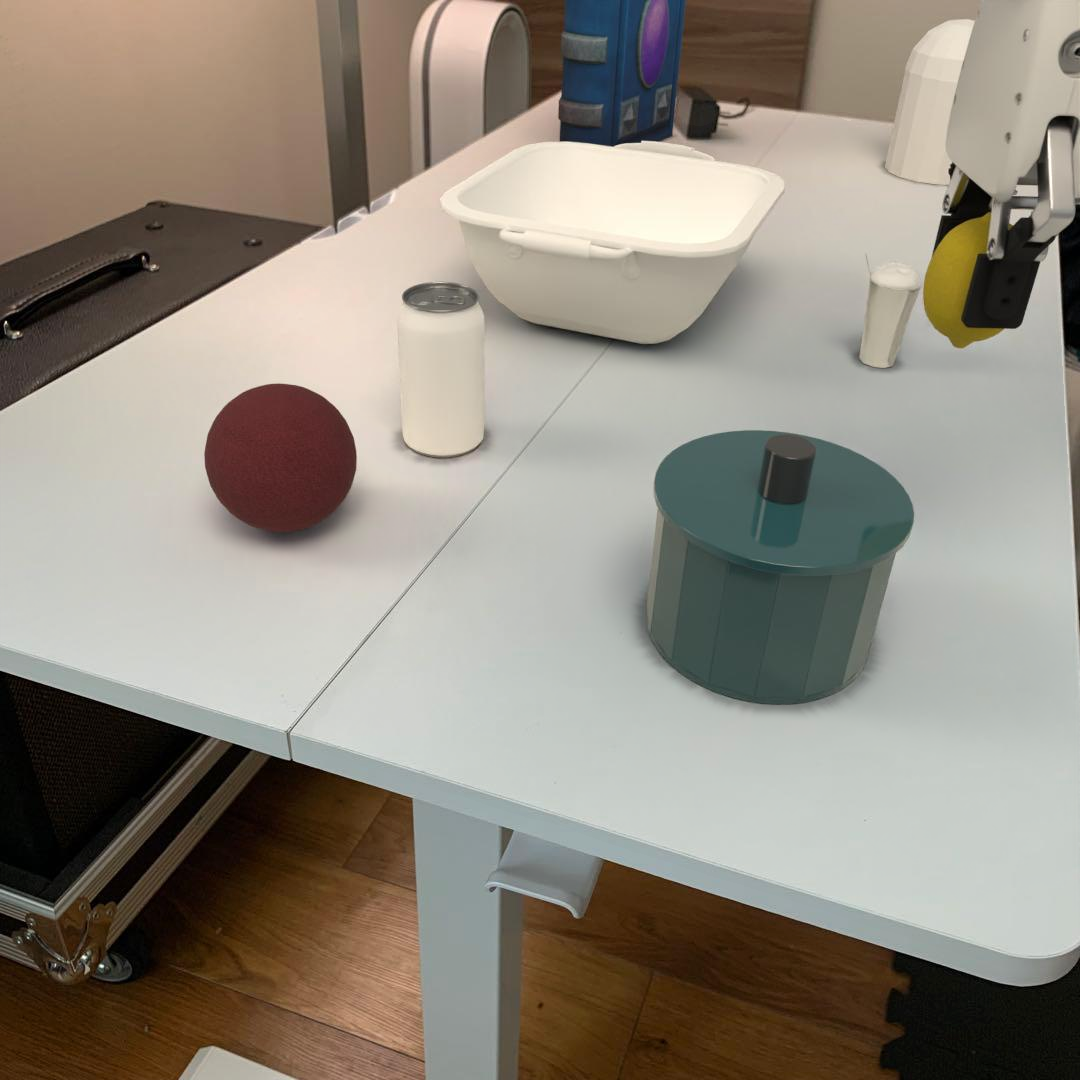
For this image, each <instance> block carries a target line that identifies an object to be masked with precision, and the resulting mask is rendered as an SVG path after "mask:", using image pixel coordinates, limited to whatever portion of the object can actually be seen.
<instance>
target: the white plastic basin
mask: <svg viewBox="0 0 1080 1080" xmlns="http://www.w3.org/2000/svg"><path fill="white" fill-rule="evenodd" d="M785 192H786V181H785V180H784V179H783V178H782V177H780V176H779V175H778V174H776V173H773V172H771V171H768V170H766V169H762V168H760V167H755V166H751V165H746V164H740V163H734V162H726V161H719V160H716V158H714V157H713V156H712V155H710V154H707V153H705V152H701V151H698V150H696V148H695V147H692V146H688V145H683V144H678V143H672V142H664V141H659V142H656V141H641V143H626V144H620V145H616V146H614V147H611V146H603V145H596V144H589V143H578V142H559V141H543V142H536V143H530V144H529V143H528V144H525V145H521V146H519V147H517V148H515V149H513V150H511V151H510V152H508V153H506V154H505V155H503V156H502V157H499V158H498V159H497V160H495V161H494V162H491V163H490V164H489V165H487V166H485V167H483V168H482V169H481V170H479V171H477V172H475V173H474V174H472V175H470V176H469V177H467V178H465V179H464V180H462V181H461V182H459V183H458V184H456V185H455V186H453V187H451V188H449V189H447V190H446V191H445V192H444V193H443V194H442V195H441V197H440V198H439V200H438V205H439V206H440V207H439V208H440V210H441V211H442V213H444V214H445V215H447V216H449V217H451V218H453V219H454V220H456V221H458V223H459V227H460V230H461V231H460V232H461V234H462V239H463V241H464V245H465V247H466V249H467V252H468V255H469V258H470V260H471V262H472V266H473V267H474V270H475V272H476V274H477V275H478V276H479V278H480V279H481V281H482V282H483V284H484V285H485V287H486V288H487V290H488V291H489V292H490V293H491V294H492V295H493V296H494V298H495V299H496V300H497V301H498V302H499V303H500V304H502V305H503V306H505V307H506V308H507V309H509V311H511V312H512V313H513V314H514V315H516V316H517V317H518V318H520V319H521V320H525V321H527V322H530V323H532V324H536V325H542V326H545V327H552V328H555V329H562V330H567V331H572V332H578V333H583V334H588V335H593V336H598V337H603V338H609V339H614V340H620V341H623V342H624V341H625V342H630V343H635V344H640V345H656V344H660V343H664V342H667V341H670V340H671V339H674V337H676V336H677V335H678V334H680V333H681V332H684V331H685V330H687V329H688V328H690V327H691V325H693V324H694V323H695V321H697V320H698V319H699V318H700V316H701V315H702V314H703V313H704V312H705V310H706V309H707V307H708V306H709V304H710V303H711V302H712V300H713V299H714V298H715V296H716V294H717V293H718V292H719V291H720V289H721V287H722V286H723V285H724V283H725V282H726V280H727V279H728V277H730V275H731V274H732V272H733V271H734V269H735V268H736V266H737V265H738V263H739V262H740V261H741V259H742V257H743V256H744V254H745V253H746V252H747V250H748V248H749V247H750V245H751V242H752V240H753V238H754V236H755V235H756V233H757V231H758V230H759V229H760V228H761V226H762V225H763V223H764V222H765V220H767V218H768V216H769V215H770V214H771V213H772V211H773V209H774V208H775V207H776V206H777V204H778V203H779V202H780V200H781V198H782V197H783V196H784V194H785Z"/></svg>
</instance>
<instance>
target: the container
mask: <svg viewBox="0 0 1080 1080" xmlns="http://www.w3.org/2000/svg"><path fill="white" fill-rule="evenodd" d="M974 22H975V20H974V19H969V18H960V19H950V20H946V21H945V22H942V23H940V24H938V25H936V26H934V27H933V28H931V29H929V30H928V31H927V32H926V33H925V34H924V35H923V36H922V37H921V39H920V40H919V41H918V42H917V43H916V44H915V46H914V47H913V48H912V50H911V52H910V55H909V57H908V59H907V62H906V65H905V67H904V74H903V79H902V85H901V89H900V93H899V97H898V103H897V106H896V113H895V117H894V121H893V127H892V131H891V136H890V140H889V145H888V149H887V155H886V160H885V163H884V164H885V165H884V168H885V170H886V171H887V172H888V173H890V174H892V175H894V176H895V177H896V176H897V177H898V178H902V179H905V180H909V181H913V182H917V183H924V184H929V185H930V184H931V185H938V186H939V185H941V186H948V185H949V183H950V175H949V173H948V170H949V168H950V164H952V161H951V159H950V158H949V157H948V155H947V152H946V136H947V129H948V124H949V119H950V113H951V109H952V104H953V100H954V95H955V91H956V87H957V83H958V79H959V76H960V72H961V68H962V64H963V61H964V57H965V53H966V50H967V46H968V43H969V39H970V36H971V32H972V29H973V26H974Z"/></svg>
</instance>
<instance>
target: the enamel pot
mask: <svg viewBox="0 0 1080 1080" xmlns="http://www.w3.org/2000/svg"><path fill="white" fill-rule="evenodd" d="M896 555H897V554H895V555H893V556H891V557H890V558H888V559H887V560H885V561H883V562H881V563H879V564H877V565H875V566H872V567H869V568H866V569H863V570H859V571H855V572H850V573H845V574H837V575H827V576H801V575H787V574H780V573H772V572H767V571H762V570H758V569H753V568H749V567H746V566H743V565H739V564H736V563H733V562H730V561H728V560H725V559H722V558H720V557H717V556H715V555H713V554H711V553H709V552H707V551H705V550H703V549H701V548H699V547H698V546H696V545H694V544H693V543H691V542H689V541H688V540H687V539H685V538H684V537H683V536H681V535H680V534H679V533H678V532H676V531H675V530H674V529H673V528H672V527H671V526H670V525H669V524H668V522H667V521H666V520H665V519H664V517H663V516H662V515H661V513H660V511H659V509H658V508H657V511H656V520H655V528H654V537H653V546H652V554H651V563H650V573H649V582H648V589H647V591H648V592H647V598H646V613H647V614H646V619H647V630H648V633H649V637H650V639H651V642H652V643H653V645H654V648H656V650H657V651H658V653H659V655H660V656H662V658H663V659H664V660H665V661H666V662H667V663H668V664H669V665H670V666H671V667H672V668H673V669H675V670H676V671H677V672H678V673H679V674H681V675H683V676H684V677H685V678H686V679H688V680H690V681H692V682H694V683H695V684H697V685H699V686H701V687H703V688H704V689H707V690H710V691H711V692H714V693H716V694H720V695H722V696H726V697H729V698H732V699H737V700H741V701H744V702H750V703H758V704H768V705H793V704H800V703H801V704H803V703H808V702H811V701H812V702H813V701H816V700H820V699H824V698H826V697H829V696H831V695H834V694H836V693H838V692H840V691H841V690H843V689H844V688H846V687H847V686H848V685H850V684H851V683H853V681H854V680H855V679H856V678H857V677H858V676H859V675H860V673H861V672H862V670H863V669H864V667H865V666H866V664H867V661H868V657H869V654H870V650H871V646H872V643H873V639H874V636H875V631H876V628H877V624H878V621H879V617H880V614H881V609H882V606H883V604H884V603H883V602H884V599H885V595H886V592H887V588H888V584H889V580H890V577H891V573H892V570H893V566H894V562H895V558H896Z"/></svg>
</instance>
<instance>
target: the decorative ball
mask: <svg viewBox="0 0 1080 1080" xmlns="http://www.w3.org/2000/svg"><path fill="white" fill-rule="evenodd" d="M203 454H204V457H203V458H204V469H205V472H206V476H207V479H208V482H209V486H210V488H211V490H212V492H213V493H214V495H215V497H216V498H217V500H218V501H219V503H220V504H221V505H222V506H223V507H224V508H225V510H227V511H228V512H229V513H230V514H231V515H232V516H234V518H236V519H238V520H239V521H241V522H243V523H244V524H246V525H248V526H251V527H253V528H257V529H260V530H262V531H266V532H272V533H292V532H298V531H302V530H305V529H309V528H310V527H313V526H315V525H317V524H319V523H321V522H323V521H324V520H326V519H328V518H329V517H330V516H331V515H332V514H333V513H334V512H336V510H338V508H339V507H341V505H342V504H343V503H344V501H345V500H346V498H347V496H348V495H349V493H350V491H351V489H352V486H353V482H354V480H355V477H356V472H357V463H358V462H357V461H358V456H357V447H356V441H355V437H354V435H353V432H352V431H351V428H350V426H349V424H348V422H347V420H346V419H345V417H344V415H342V413H341V412H340V410H339V409H338V408H337V406H335V405H334V404H333V403H331V402H330V401H329V400H328V399H327V398H326V397H324V396H322V395H321V394H320V393H317V392H315V391H314V390H311V389H309V388H307V387H304V386H301V385H297V384H291V383H268V384H263V385H259V386H256V387H252V388H249V389H247V390H244V391H243V392H241V393H239V394H238V395H237V396H235V397H233V399H231V400H230V401H228V402H227V403H226V404H225V405H224V406H223V407H222V409H221V410H220V411H219V412H218V414H217V415H216V417H215V418H214V419H213V422H212V424H211V426H210V427H209V430H208V433H207V436H206V441H205V447H204V453H203Z"/></svg>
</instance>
